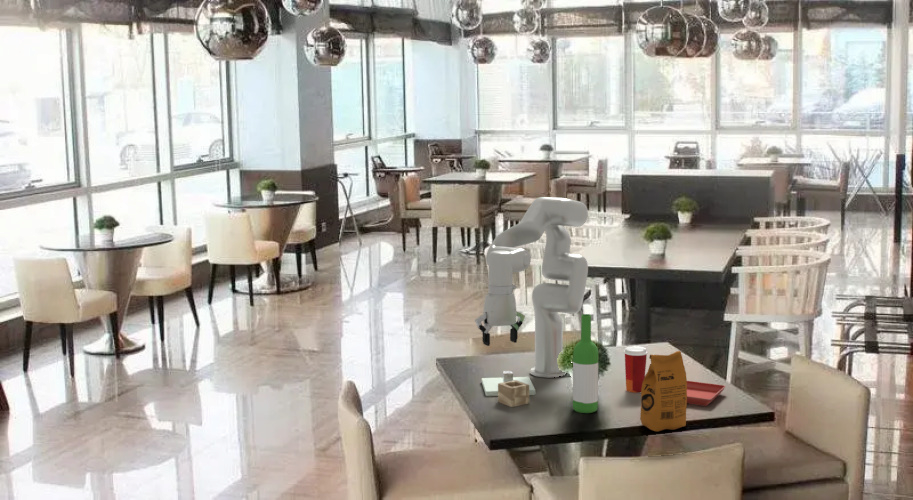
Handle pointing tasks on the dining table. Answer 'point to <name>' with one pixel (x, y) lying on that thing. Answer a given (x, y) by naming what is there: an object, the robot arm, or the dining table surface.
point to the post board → (492, 383)
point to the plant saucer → (702, 392)
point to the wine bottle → (585, 370)
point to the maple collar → (513, 393)
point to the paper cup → (635, 368)
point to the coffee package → (664, 393)
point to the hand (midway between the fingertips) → (500, 343)
